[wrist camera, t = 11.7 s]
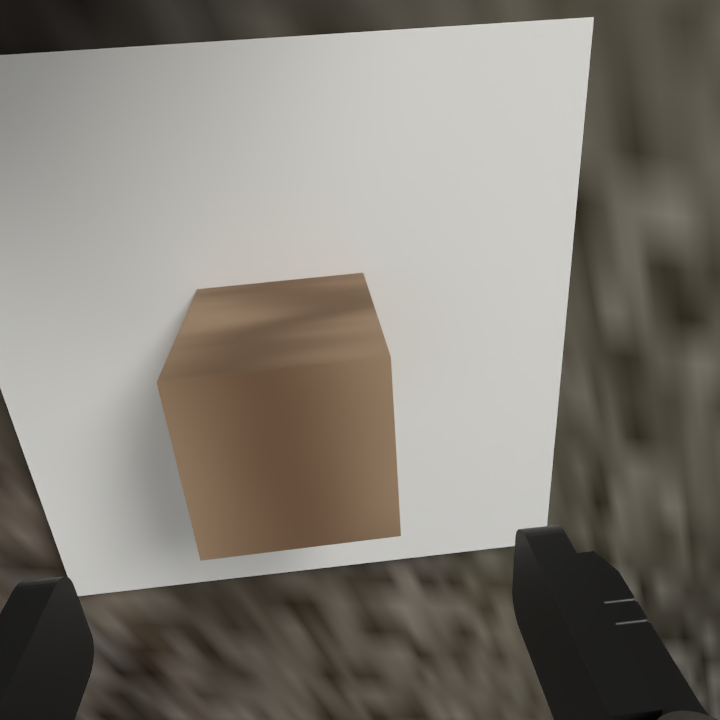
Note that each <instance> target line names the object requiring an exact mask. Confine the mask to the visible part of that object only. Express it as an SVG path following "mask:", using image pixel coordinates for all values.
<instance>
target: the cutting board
mask: <svg viewBox="0 0 720 720" xmlns="http://www.w3.org/2000/svg"><path fill="white" fill-rule="evenodd" d="M593 21H594V17H589V18H573V19H557V20H542V21H526V22H510V23H495V24H479V25H464V26H448V27H432V28H417V29H401V30H385V31H370V32H354V33H339V34H323V35H307V36H292V37H276V38H261V39H245V40H229V41H214V42H198V43H182V44H167V45H151V46H136V47H120V48H104V49H89V50H73V51H57V52H42V53H26V54H11V55H0V389H1V391H2V394H3V397H4V400H5V403H6V405H7V408H8V411H9V414H10V417H11V419H12V422H13V425H14V428H15V431H16V433H17V436H18V439H19V442H20V445H21V447H22V450H23V453H24V456H25V459H26V461H27V464H28V467H29V470H30V472H31V475H32V478H33V481H34V484H35V486H36V489H37V492H38V495H39V498H40V500H41V503H42V506H43V509H44V512H45V514H46V517H47V520H48V523H49V526H50V528H51V531H52V534H53V537H54V540H55V542H56V545H57V548H58V551H59V554H60V556H61V559H62V562H63V565H64V568H65V570H66V573H67V576H68V577H69V578H70V579H71V581H72V582H73V585H74V587H75V590H76V593H77V595H78V596H84V595H93V594H101V593H110V592H119V591H127V590H136V589H145V588H153V587H162V586H171V585H179V584H188V583H197V582H205V581H214V580H223V579H232V578H240V577H249V576H258V575H266V574H275V573H284V572H292V571H301V570H310V569H318V568H327V567H336V566H345V565H353V564H362V563H371V562H379V561H388V560H397V559H405V558H414V557H423V556H431V555H440V554H449V553H457V552H466V551H475V550H484V549H492V548H501V547H510V546H515V537H516V532H517V530H518V529H525V528H534V527H544V526H547V519H548V508H549V497H550V486H551V475H552V465H553V454H554V443H555V432H556V421H557V410H558V400H559V389H560V378H561V367H562V356H563V345H564V335H565V324H566V313H567V302H568V291H569V280H570V270H571V259H572V248H573V237H574V226H575V215H576V205H577V194H578V183H579V172H580V161H581V151H582V140H583V129H584V118H585V107H586V96H587V86H588V75H589V64H590V53H591V42H592V31H593ZM355 273H364V276H365V279H366V282H367V286H368V289H369V292H370V295H371V298H372V301H373V304H374V307H375V310H376V313H377V316H378V319H379V322H380V325H381V328H382V331H383V334H384V338H385V341H386V344H387V347H388V350H389V353H390V356H391V368H392V386H393V403H394V421H395V439H396V456H397V474H398V492H399V510H400V527H401V536H397V537H389V538H381V539H373V540H365V541H357V542H349V543H341V544H332V545H324V546H316V547H308V548H300V549H292V550H284V551H275V552H267V553H259V554H251V555H243V556H235V557H227V558H219V559H210V560H202V561H200V557H199V553H198V549H197V545H196V541H195V537H194V532H193V528H192V524H191V520H190V516H189V512H188V508H187V504H186V500H185V496H184V492H183V488H182V484H181V480H180V476H179V471H178V467H177V463H176V459H175V455H174V451H173V447H172V443H171V439H170V435H169V431H168V427H167V423H166V419H165V414H164V410H163V406H162V402H161V398H160V394H159V390H158V386H157V380H158V378H159V375H160V373H161V371H162V369H163V366H164V364H165V362H166V359H167V357H168V355H169V352H170V350H171V348H172V346H173V343H174V341H175V339H176V336H177V334H178V332H179V329H180V327H181V325H182V323H183V320H184V318H185V316H186V313H187V311H188V309H189V306H190V304H191V302H192V300H193V297H194V295H195V293H196V290H197V289H204V288H214V287H224V286H234V285H244V284H254V283H264V282H274V281H284V280H294V279H304V278H315V277H325V276H335V275H345V274H355Z"/></svg>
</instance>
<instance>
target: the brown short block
mask: <svg viewBox="0 0 720 720" xmlns="http://www.w3.org/2000/svg"><path fill="white" fill-rule="evenodd" d="M157 386H158V390H159V394H160V398H161V402H162V406H163V410H164V414H165V419H166V423H167V427H168V431H169V435H170V439H171V443H172V447H173V451H174V455H175V459H176V463H177V467H178V471H179V476H180V480H181V484H182V488H183V492H184V496H185V500H186V504H187V508H188V512H189V516H190V520H191V524H192V528H193V532H194V537H195V541H196V545H197V549H198V553H199V557H200V561H202V560H210V559H219V558H227V557H235V556H243V555H251V554H259V553H267V552H275V551H284V550H292V549H300V548H308V547H316V546H324V545H332V544H341V543H349V542H357V541H365V540H373V539H381V538H389V537H397V536H401V527H400V510H399V492H398V474H397V456H396V439H395V421H394V403H393V386H392V368H391V356H390V353H389V350H388V347H387V344H386V341H385V338H384V334H383V331H382V328H381V325H380V322H379V319H378V316H377V313H376V310H375V307H374V304H373V301H372V298H371V295H370V292H369V289H368V286H367V282H366V279H365V276H364V273H355V274H345V275H335V276H325V277H315V278H304V279H294V280H284V281H274V282H264V283H254V284H244V285H234V286H224V287H214V288H204V289H197V290H196V293H195V295H194V297H193V300H192V302H191V304H190V306H189V309H188V311H187V313H186V316H185V318H184V320H183V323H182V325H181V327H180V329H179V332H178V334H177V336H176V339H175V341H174V343H173V346H172V348H171V350H170V352H169V355H168V357H167V359H166V362H165V364H164V366H163V369H162V371H161V373H160V375H159V378H158V380H157Z"/></svg>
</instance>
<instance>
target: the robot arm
mask: <svg viewBox="0 0 720 720" xmlns="http://www.w3.org/2000/svg"><path fill="white" fill-rule="evenodd" d="M512 595H513V605H514V610H515V615H516V619H517V623H518V626H519V629H520V631H521V634H522V636H523V639H524V642H525V644H526V647H527V650H528V652H529V655H530V657H531V660H532V663H533V665H534V668H535V671H536V673H537V676H538V679H539V681H540V684H541V686H542V689H543V692H544V694H545V697H546V700H547V702H548V705H549V707H550V710H551V713H552V715H553V718H554V720H717V719H715V718H713V717H711V716H709V715H708V714H707V712H706V711H705V710H704V708H703V707H702V706H701V704H700V703H699V701H698V700H697V698H696V696H695V695H694V693H693V691H692V690H691V688H690V687H689V685H688V683H687V682H686V680H685V678H684V677H683V675H682V674H681V672H680V670H679V669H678V667H677V665H676V664H675V662H674V661H673V659H672V657H671V656H670V654H669V652H668V651H667V649H666V648H665V646H664V644H663V643H662V641H661V640H660V638H659V636H658V635H657V633H656V631H655V630H654V628H653V627H652V625H651V623H648V621H647V617H646V615H645V614H644V612H643V610H642V609H641V607H640V605H639V604H638V602H635V600H634V596H633V594H632V593H631V591H630V589H629V588H628V586H627V584H626V583H625V581H624V580H623V578H622V576H621V575H620V573H619V572H618V571H617V570H616V569H615V568H614V567H612V566H611V565H610V564H609V563H608V562H606V561H605V560H604V559H603V558H601V557H600V556H599V555H598V554H597V553H595V552H594V551H592V552H583V553H576V551H575V549H574V548H573V546H572V544H571V542H570V540H569V539H568V537H567V535H566V533H565V532H564V530H563V529H562V527H561V526H559V525H553V526H544V527H534V528H525V529H518V530H517V532H516V537H515V553H514V570H513V587H512ZM93 657H94V645H93V638H92V634H91V631H90V629H89V626H88V623H87V620H86V618H85V615H84V612H83V609H82V606H81V604H80V601H79V598H78V595H77V593H76V590H75V587H74V585H73V582H72V581H71V579H70V578H69V577H56V578H46V579H37V580H28V581H22V582H20V583H19V584H18V585H17V586H16V587H15V588H14V590H13V592H12V594H11V595H10V597H9V599H8V601H7V603H6V604H5V606H4V608H3V610H2V612H1V614H0V720H75V717H76V714H77V711H78V708H79V705H80V702H81V700H82V697H83V694H84V691H85V688H86V685H87V682H88V680H89V677H90V674H91V670H92V665H93Z"/></svg>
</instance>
